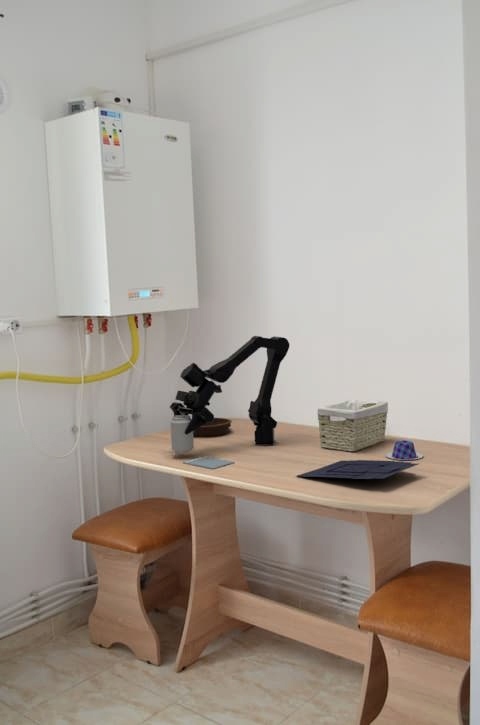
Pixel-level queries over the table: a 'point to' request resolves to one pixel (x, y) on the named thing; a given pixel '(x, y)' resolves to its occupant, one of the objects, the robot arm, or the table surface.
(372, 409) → the storage basket
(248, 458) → the table surface
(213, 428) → the dish
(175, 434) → the can
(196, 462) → the mat
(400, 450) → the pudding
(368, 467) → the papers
